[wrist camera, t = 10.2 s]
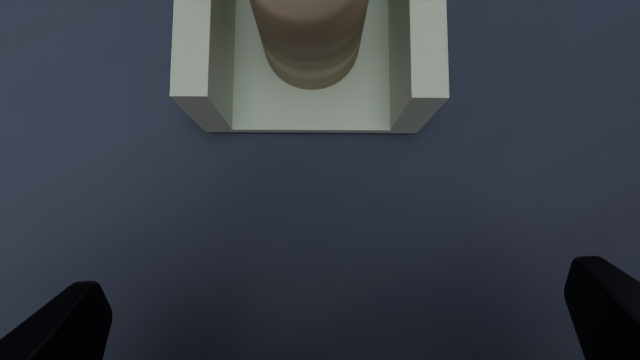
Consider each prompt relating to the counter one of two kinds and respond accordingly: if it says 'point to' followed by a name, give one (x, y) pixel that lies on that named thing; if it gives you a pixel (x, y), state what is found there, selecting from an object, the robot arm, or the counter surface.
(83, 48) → the counter surface
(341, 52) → the dowel
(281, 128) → the cradle
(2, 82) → the counter surface
